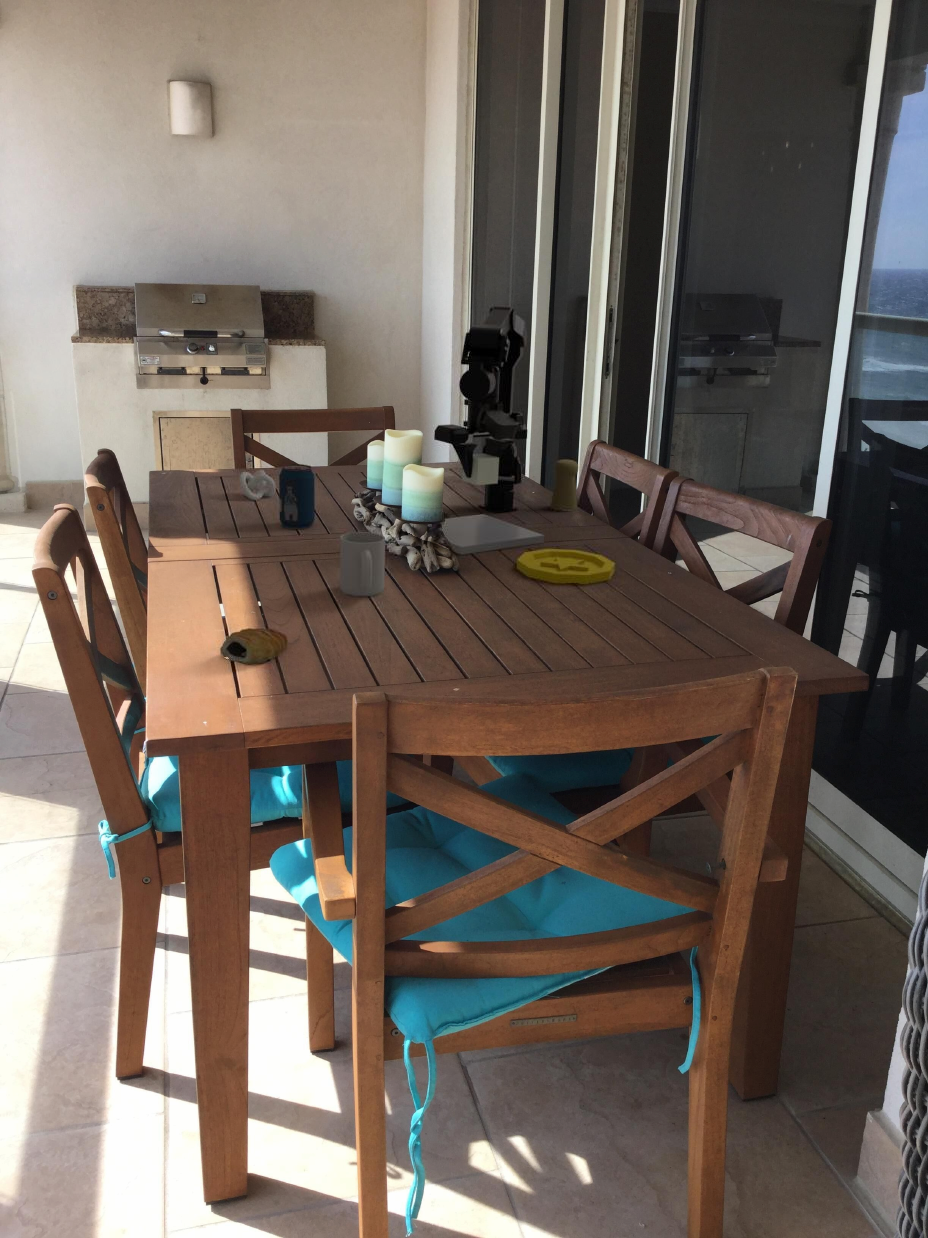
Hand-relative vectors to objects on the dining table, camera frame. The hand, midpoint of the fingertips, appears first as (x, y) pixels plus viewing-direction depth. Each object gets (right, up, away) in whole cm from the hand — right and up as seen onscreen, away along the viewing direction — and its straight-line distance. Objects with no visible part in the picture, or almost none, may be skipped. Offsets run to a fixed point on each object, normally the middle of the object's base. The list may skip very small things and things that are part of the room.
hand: (479, 476), depth 204 cm
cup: (-19, -24, -34) cm, 46 cm away
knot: (-50, -1, +30) cm, 58 cm away
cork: (+19, -3, +32) cm, 38 cm away
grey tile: (-1, -12, +4) cm, 12 cm away
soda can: (-37, -9, +6) cm, 38 cm away
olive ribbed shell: (-32, -33, -62) cm, 77 cm away
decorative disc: (+15, -20, -16) cm, 30 cm away
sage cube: (0, -1, 0) cm, 1 cm away
